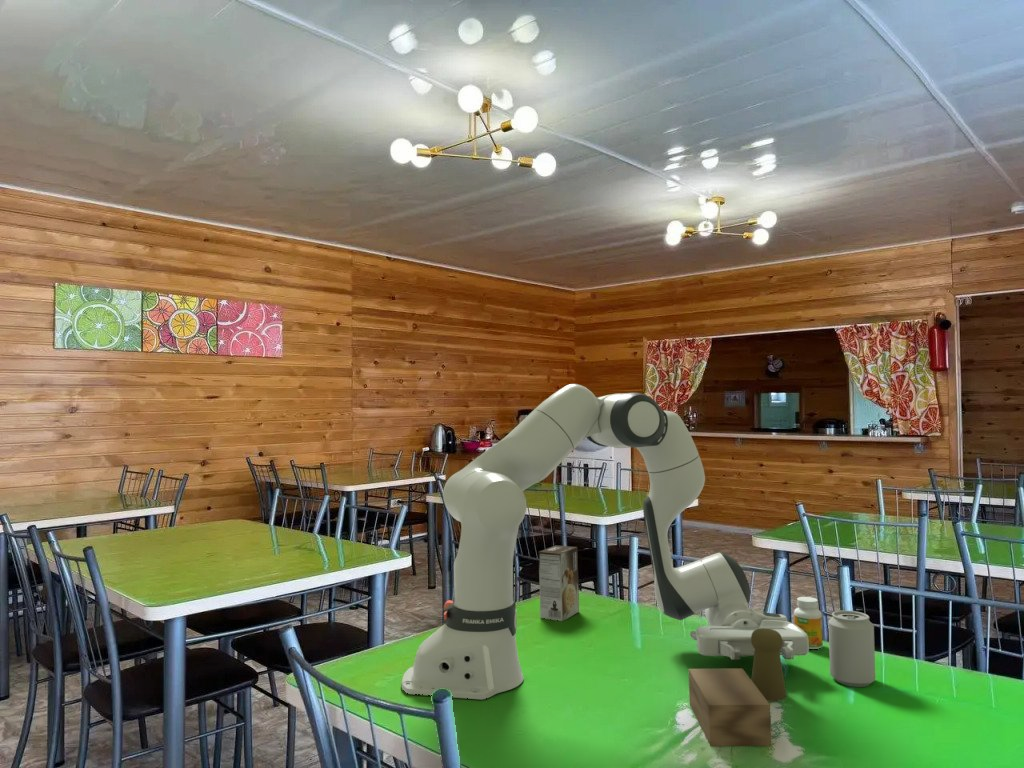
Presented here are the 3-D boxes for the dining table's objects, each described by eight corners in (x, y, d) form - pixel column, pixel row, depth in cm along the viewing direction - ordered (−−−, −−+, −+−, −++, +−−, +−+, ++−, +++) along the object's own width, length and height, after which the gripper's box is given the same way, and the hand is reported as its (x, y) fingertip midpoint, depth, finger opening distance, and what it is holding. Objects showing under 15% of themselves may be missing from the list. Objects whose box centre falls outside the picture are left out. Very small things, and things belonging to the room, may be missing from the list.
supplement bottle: (794, 649, 150) (793, 601, 151) (795, 641, 155) (793, 594, 156) (823, 651, 148) (821, 603, 149) (822, 643, 153) (821, 596, 154)
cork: (789, 701, 124) (787, 636, 124) (752, 699, 125) (750, 634, 126) (783, 688, 130) (781, 625, 130) (748, 686, 131) (746, 624, 131)
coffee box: (556, 608, 183) (555, 544, 184) (579, 612, 180) (578, 546, 181) (539, 618, 176) (538, 551, 176) (563, 622, 172) (561, 553, 173)
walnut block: (710, 745, 109) (709, 704, 109) (689, 704, 124) (688, 668, 124) (771, 745, 108) (770, 704, 109) (743, 704, 123) (742, 668, 123)
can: (875, 676, 135) (872, 610, 135) (876, 691, 128) (873, 621, 128) (830, 670, 138) (828, 606, 138) (829, 685, 131) (827, 617, 131)
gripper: (687, 615, 144) (703, 637, 131) (792, 614, 144) (819, 636, 130) (688, 647, 144) (704, 673, 130) (793, 647, 143) (820, 672, 130)
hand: (762, 655), depth 130 cm, fingers open, 8 cm apart
